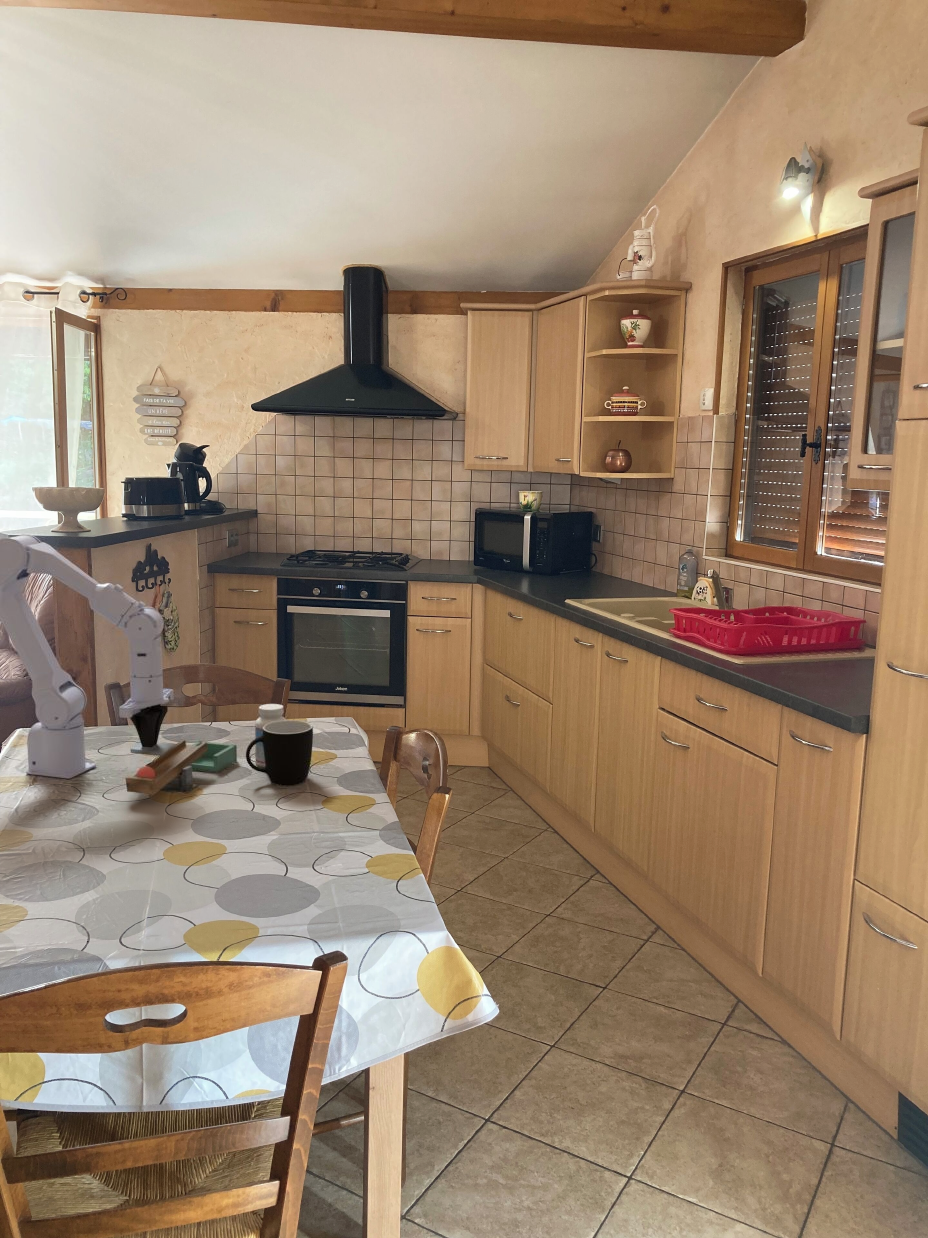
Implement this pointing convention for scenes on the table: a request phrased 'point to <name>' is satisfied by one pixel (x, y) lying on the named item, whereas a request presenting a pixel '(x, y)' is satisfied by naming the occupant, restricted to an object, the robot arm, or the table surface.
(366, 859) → the table surface
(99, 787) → the table surface
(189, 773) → the stand
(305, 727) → the mug
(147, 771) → the ball
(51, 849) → the table surface
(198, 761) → the dish
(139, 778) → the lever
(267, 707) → the pill bottle
